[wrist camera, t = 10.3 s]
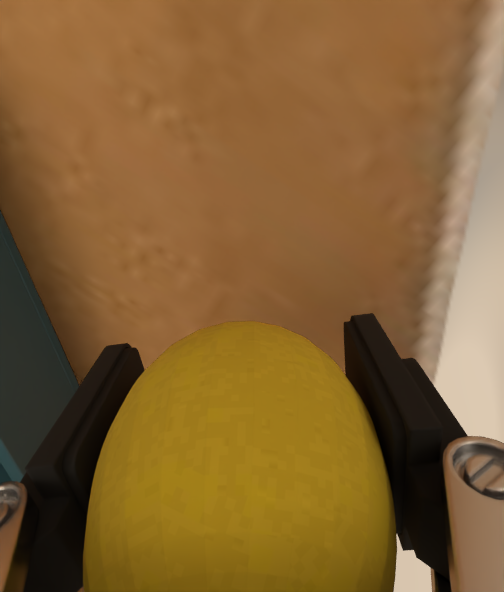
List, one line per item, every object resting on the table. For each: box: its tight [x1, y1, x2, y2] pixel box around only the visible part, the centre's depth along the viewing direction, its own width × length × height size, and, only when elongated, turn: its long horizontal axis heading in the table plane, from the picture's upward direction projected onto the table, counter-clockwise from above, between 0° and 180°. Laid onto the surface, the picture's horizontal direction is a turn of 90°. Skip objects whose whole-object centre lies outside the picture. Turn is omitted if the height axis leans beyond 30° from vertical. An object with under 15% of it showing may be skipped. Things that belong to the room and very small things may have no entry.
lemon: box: [83, 321, 397, 592], centre depth 7 cm, size 6×6×8 cm
